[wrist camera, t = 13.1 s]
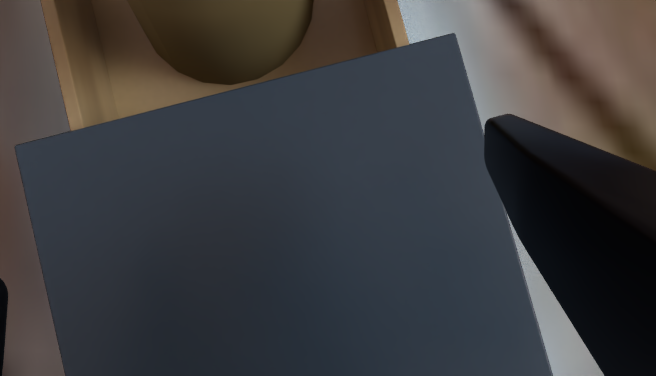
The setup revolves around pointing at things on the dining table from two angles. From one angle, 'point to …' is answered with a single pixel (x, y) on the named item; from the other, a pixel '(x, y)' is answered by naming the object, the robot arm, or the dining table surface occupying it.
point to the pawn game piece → (224, 35)
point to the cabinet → (287, 231)
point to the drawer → (162, 79)
